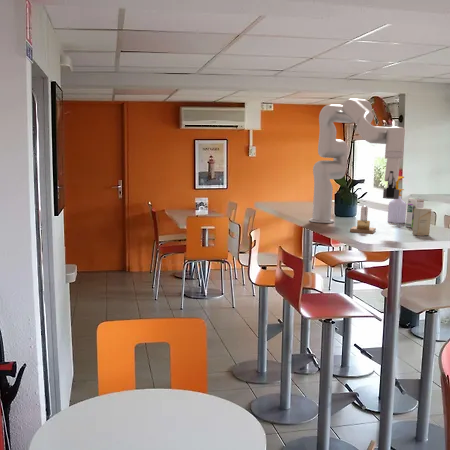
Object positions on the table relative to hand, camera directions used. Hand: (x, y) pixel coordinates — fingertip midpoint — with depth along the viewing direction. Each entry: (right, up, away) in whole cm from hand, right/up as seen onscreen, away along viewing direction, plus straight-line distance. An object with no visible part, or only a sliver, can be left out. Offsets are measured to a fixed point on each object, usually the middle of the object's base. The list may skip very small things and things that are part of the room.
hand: (390, 196), depth 245 cm
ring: (0, -1, 0) cm, 1 cm away
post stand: (-9, -16, +12) cm, 22 cm away
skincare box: (+16, -17, +7) cm, 24 cm away
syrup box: (+22, -14, +34) cm, 43 cm away
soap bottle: (+19, -11, +54) cm, 58 cm away
